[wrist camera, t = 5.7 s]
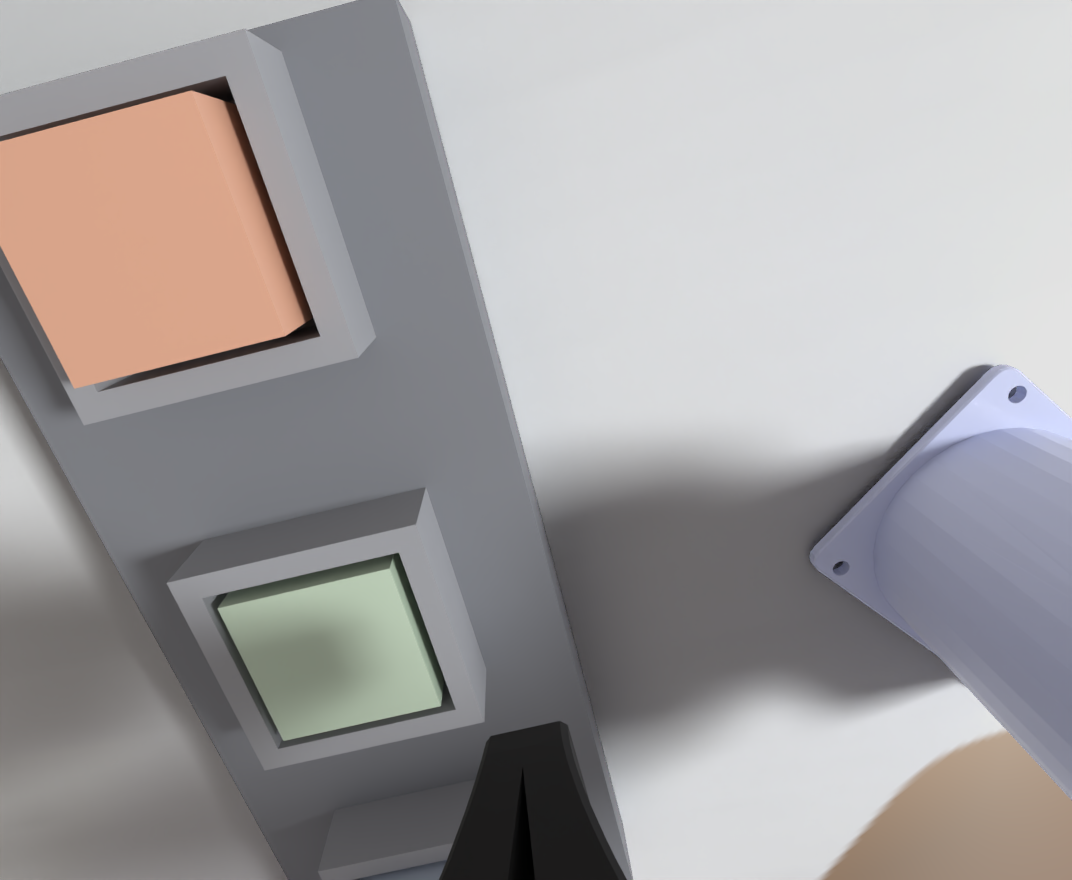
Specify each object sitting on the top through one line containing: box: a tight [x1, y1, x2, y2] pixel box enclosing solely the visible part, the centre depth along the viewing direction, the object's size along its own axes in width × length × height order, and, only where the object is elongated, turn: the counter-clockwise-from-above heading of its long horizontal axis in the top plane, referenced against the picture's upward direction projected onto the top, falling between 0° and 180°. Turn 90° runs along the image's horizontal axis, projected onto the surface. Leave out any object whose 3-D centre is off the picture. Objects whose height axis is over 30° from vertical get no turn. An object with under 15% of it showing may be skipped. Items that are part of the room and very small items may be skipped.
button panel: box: [0, 0, 633, 880], centre depth 18 cm, size 27×11×4 cm, turn 13°
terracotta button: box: [0, 90, 313, 389], centre depth 13 cm, size 4×4×2 cm
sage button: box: [217, 553, 444, 741], centre depth 17 cm, size 4×4×2 cm
